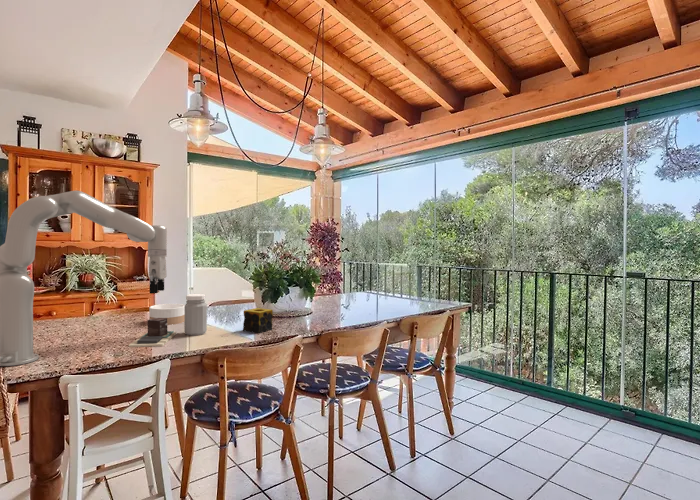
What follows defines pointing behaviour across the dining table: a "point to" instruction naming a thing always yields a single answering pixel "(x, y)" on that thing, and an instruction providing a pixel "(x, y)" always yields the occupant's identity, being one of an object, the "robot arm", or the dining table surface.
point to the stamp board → (152, 340)
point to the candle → (257, 320)
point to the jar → (195, 315)
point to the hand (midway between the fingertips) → (157, 291)
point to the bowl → (168, 312)
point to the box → (157, 327)
